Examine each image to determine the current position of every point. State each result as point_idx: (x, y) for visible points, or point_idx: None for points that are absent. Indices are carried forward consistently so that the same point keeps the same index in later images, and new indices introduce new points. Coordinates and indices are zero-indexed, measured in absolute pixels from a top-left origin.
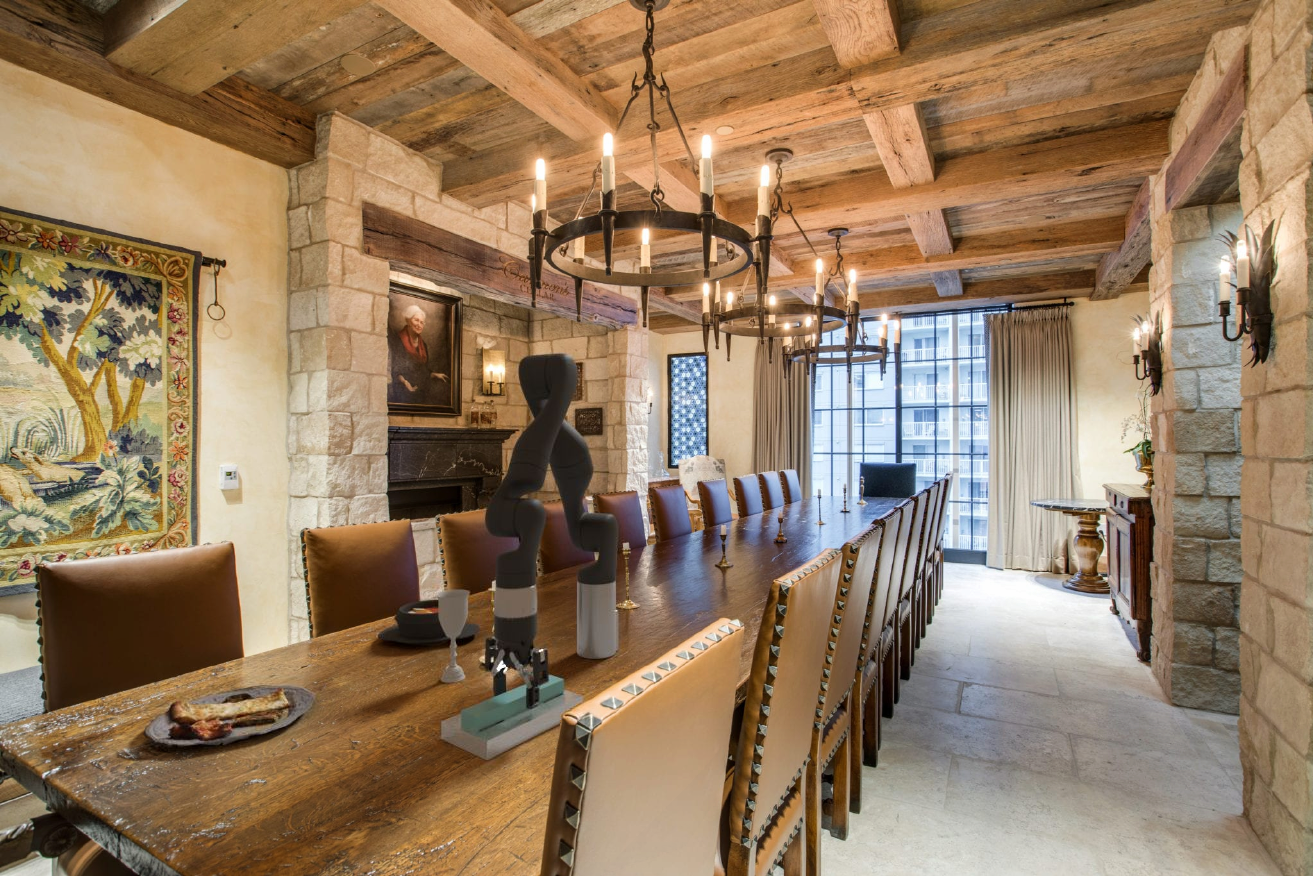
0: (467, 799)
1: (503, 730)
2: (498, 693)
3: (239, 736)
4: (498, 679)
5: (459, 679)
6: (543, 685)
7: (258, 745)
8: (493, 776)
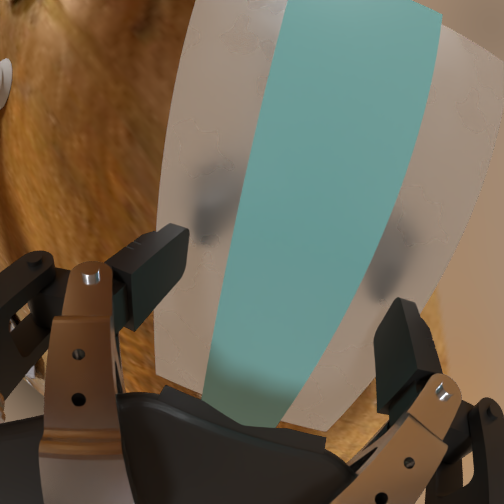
0: (353, 452)
1: (340, 400)
2: (176, 273)
3: (34, 368)
4: (140, 313)
5: (8, 83)
6: (379, 143)
7: (44, 360)
8: (367, 423)
